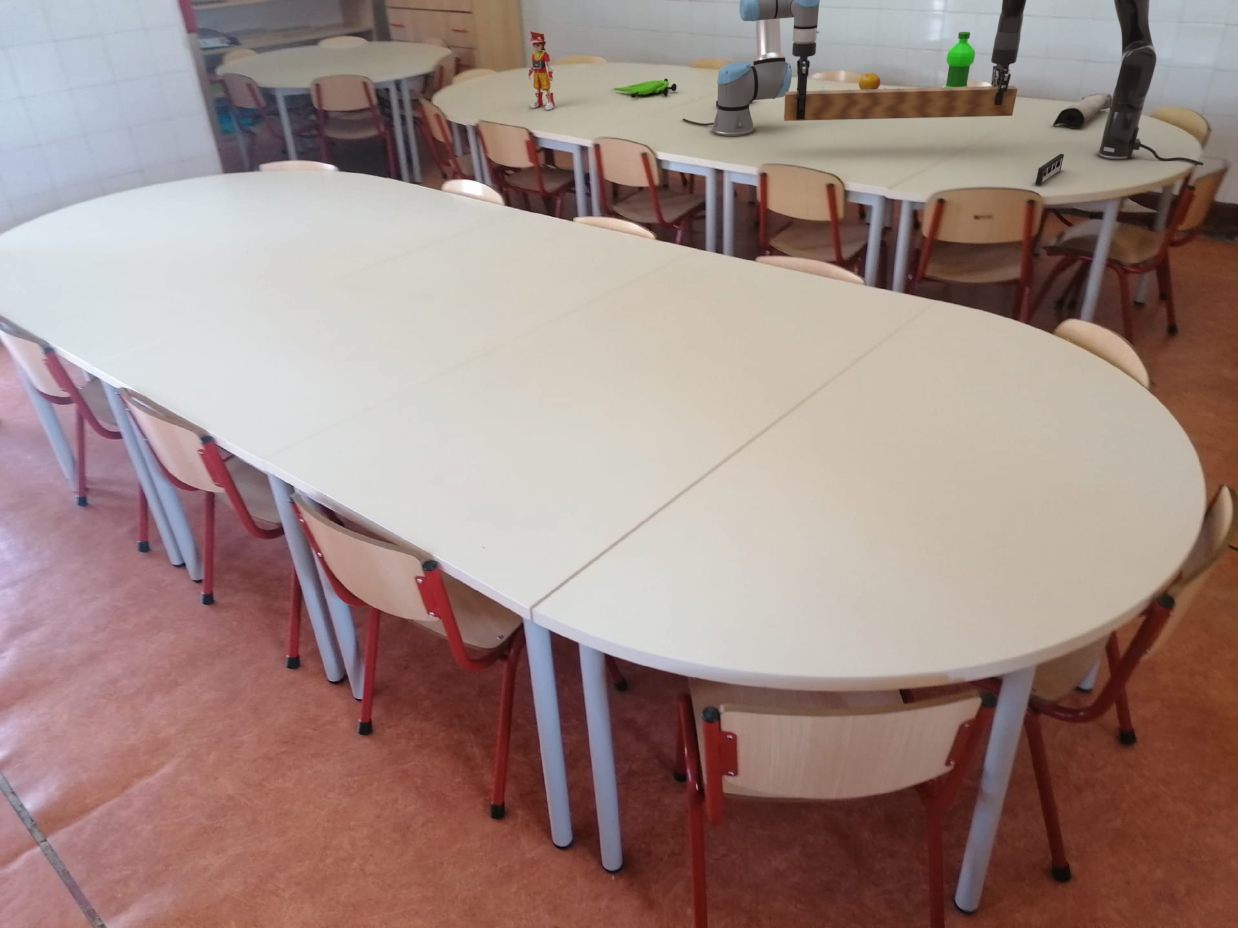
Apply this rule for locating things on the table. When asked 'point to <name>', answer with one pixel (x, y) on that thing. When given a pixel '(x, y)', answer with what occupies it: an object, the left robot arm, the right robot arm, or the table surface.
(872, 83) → the fruit
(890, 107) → the wooden plank
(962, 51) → the plastic bottle
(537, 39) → the toy
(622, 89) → the toy
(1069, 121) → the rolled mat
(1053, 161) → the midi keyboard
